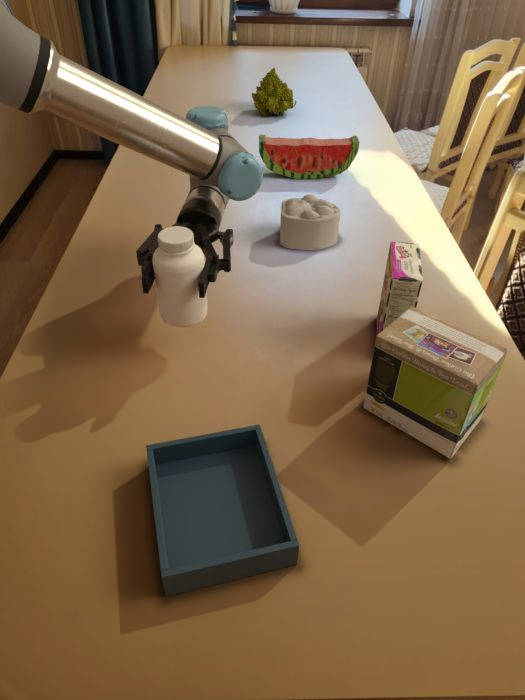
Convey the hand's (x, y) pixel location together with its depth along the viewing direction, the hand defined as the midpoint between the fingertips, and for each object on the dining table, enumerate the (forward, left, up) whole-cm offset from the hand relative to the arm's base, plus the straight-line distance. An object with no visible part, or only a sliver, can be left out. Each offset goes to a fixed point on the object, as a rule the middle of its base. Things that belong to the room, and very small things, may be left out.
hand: (172, 288), depth 81 cm
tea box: (+21, +34, -15) cm, 42 cm away
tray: (+30, +1, -15) cm, 33 cm away
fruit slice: (-67, +44, -15) cm, 82 cm away
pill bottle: (-4, +2, -9) cm, 10 cm away
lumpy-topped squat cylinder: (-34, +34, -15) cm, 51 cm away
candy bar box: (+3, +37, -15) cm, 40 cm away
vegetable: (-119, +48, -15) cm, 130 cm away
